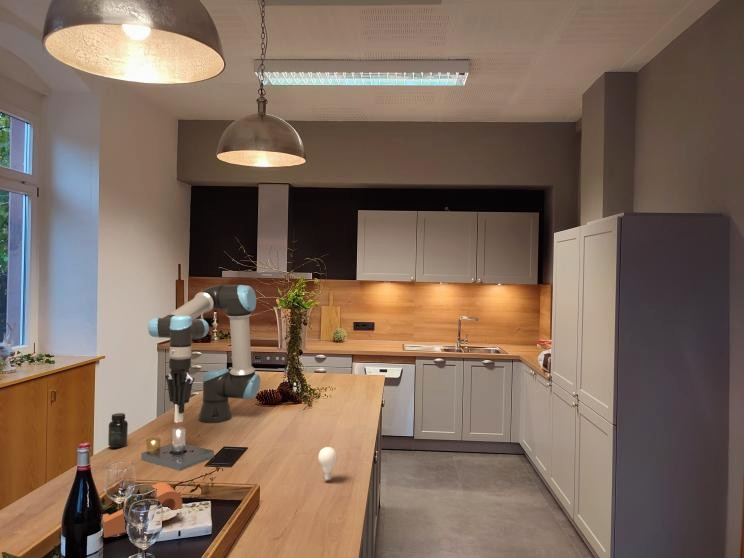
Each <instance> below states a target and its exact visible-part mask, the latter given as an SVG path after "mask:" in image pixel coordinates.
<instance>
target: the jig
mask: <svg viewBox="0 0 744 558" xmlns="http://www.w3.org/2000/svg"><path fill="white" fill-rule="evenodd" d="M214 458H215V450H213V449H208V448H204V447H200V446H195V445H192V444H189V443H185V453H184V454H179V455H173V454H172V443H169V444H166V445H163V446H161V438H160V437H158V436H157V437H150V438H147V439H146V451H144V452H141V461H143V462H147V463H151V464H155V465H158V466H161V467H166V468H169V469H173V470H176V471H178V472H179V471H183V470H185V469H188V468H190V467H193V466H196V465H198V464H201V463H204V462H205V461H209V460H211V459H214Z"/></svg>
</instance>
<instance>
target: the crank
mask: <svg viewBox="0 0 744 558" xmlns="http://www.w3.org/2000/svg"><path fill="white" fill-rule="evenodd" d="M151 487H153V488H156V489H157V499H158V500H159V501H160V502H161V504H162V505H163V507H168V508H170V509H171V510H177V509H182V507H183V498H182V496H181V495H180V494H179V493H178V492H177V491H176V490H175V489H174V488H173V487H172V486H170V485H169V484H168V483H166V482H157V483H155V484H153V485H152V486H151ZM123 509H124V508H122V509H119V510H117V511H116V512H113V513H111V514H109V513H104V514H102V515H103V527H104V536H103V537H104V538H109V537H112V536H117V535H120V534H123V533H126V530H125V524H126V523H125V519H124V514H123Z"/></svg>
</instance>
